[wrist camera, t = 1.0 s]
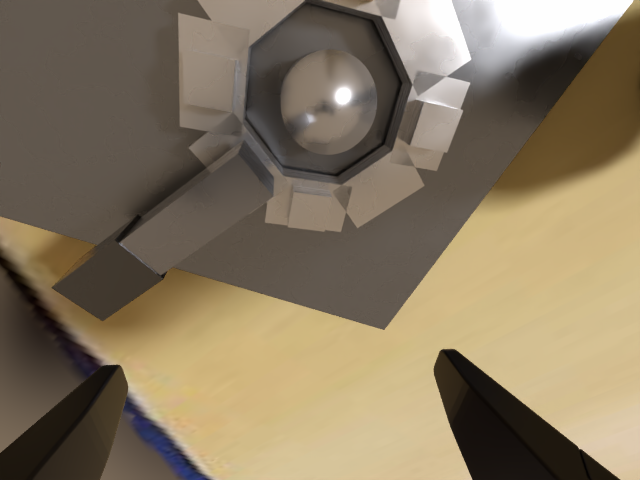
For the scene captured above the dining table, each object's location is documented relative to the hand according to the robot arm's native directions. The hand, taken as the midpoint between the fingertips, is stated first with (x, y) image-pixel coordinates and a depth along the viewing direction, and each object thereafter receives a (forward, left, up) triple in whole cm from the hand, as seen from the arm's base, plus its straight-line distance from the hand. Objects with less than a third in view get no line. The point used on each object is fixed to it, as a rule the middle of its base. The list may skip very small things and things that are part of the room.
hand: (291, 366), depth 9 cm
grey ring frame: (+2, -3, -11) cm, 12 cm away
